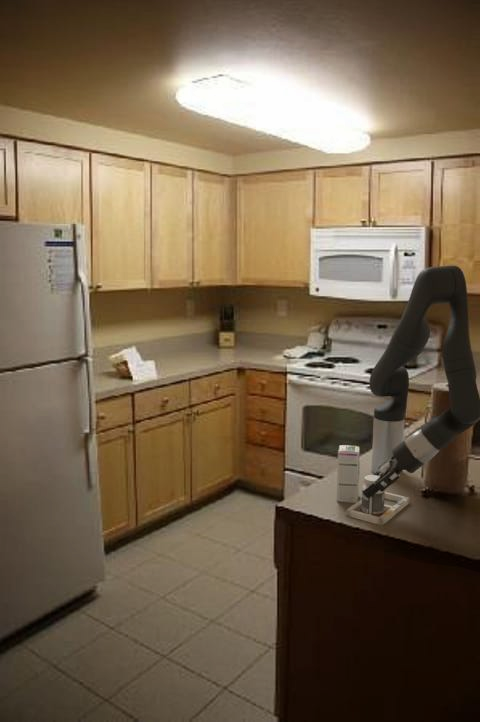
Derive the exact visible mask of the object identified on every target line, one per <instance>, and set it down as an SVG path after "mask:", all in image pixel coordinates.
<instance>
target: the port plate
mask: <svg viewBox="0 0 480 722" xmlns="http://www.w3.org/2000/svg"><path fill="white" fill-rule="evenodd" d="M385 499H386V500H390V501H393V502H397V503H395V504H394V505H393V506H392V505H388V504H385V503H384V514H383V515H382V516H380V517H377V516H373V515H370V514H366V513H362V512H361V509H362V498H361V499H360V500H358V502H357V503H353V504H352V505H351V506H350V507H348V508H347V509H346V510H345V516H347V517H349V518H353V519H354V518H355V519H358V520H361V521H364V522H365V521H366V522H369V523H371V524H376V525H378V526H379V525H380V526H384V524H386V523H387V522H389V520H391V519H392V518H393V517H394V516H396V515H397V514H398V513H399V512H401V511H402V510H403V509H404V508H405V507H406V506H408V505H409V504H410V497H407V496H403V495H400V494H395V493H390V492H387V491H385V495H384V500H385Z"/></svg>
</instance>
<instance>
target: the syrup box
mask: <svg viewBox="0 0 480 722" xmlns="http://www.w3.org/2000/svg"><path fill="white" fill-rule="evenodd" d="M360 448H361V447H360V446H359V445H352V444H351V445H349V444H342V445H341V444H340V445H339V446H338V451H337V478H336V479H337V482H336V483H337V485H336V487H337V488H336V491H337V492H336V501H337V502H342V503H351V504H355V503H357V502H358V501H359V493H360V491H359V490H360Z"/></svg>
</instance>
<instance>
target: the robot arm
mask: <svg viewBox="0 0 480 722" xmlns="http://www.w3.org/2000/svg"><path fill="white" fill-rule="evenodd" d="M466 281H467V280H466V277H465V273H464V271H463V270H462V269H461V268H460V267H459V266H457V265H442V266H431V267H430V266H429V267H425V268H424V269H422V270H421V271H419V273H418V274H417V276H416V279H415V281H414V284H413V286H412V289H411V293H410V295H409V298H408V301H407V304H406V306H405V309H404V311H403V314H402V316H401V317H400V319H399V321H398V324H397V325H396V327H395V330H394V331H393V333H392V336H391V337H390V341H389V343H388V344H387V346H386V349H385V350H384V352H383V354H382V355H381V356H380V358H379V360H378V361H377V363H376V364H375V365H374V367H373V368H372V371H371V373H370V375H369V376H370V378H369V380H368V381H369V382H368V383H369V389H370V390H369V391H370V392H371V393H372V395H374V396H377V397H380V398H381V397H382V398H383V397H384V398H385V397H390V398H389V399H388V400H387V401H386V402H384V403H382V404H379V405H377V406H376V407H375V408H374V410H373V425H372V427H373V428H372V430H373V432H372V448H371V449H372V450H371V453H372V454H371V472H372V473H374V474H373V475H376V476H379V478H378V479H377V480H376V481H374V483H373V484H371V485H370V486H369V487H368V488H366V489H365V490H364V491H363V494H364V495H365V496H366V497H367V498H370V497H372V496H373V495H374V494H375V493H377V492H378V491H379V490H380V491H381V492H382V491H384V490H387V489H388V488H390V486H392V485H393V484H394V483H396V482H397V481H398V480H399V479H400V476H401V475H402V473H403V471H406V472H407V473H408V474H414V473H415V472H416V471H417V470H418V469H420V468H421V467H423V466H424V465H426V463H429V461H430V460H431V459H433V458H434V457H435V456H436V455H437V454H438V453H439V452H440V451H441V450H442V449H444V448H445V447H446V446H447V445H449V444H450V443H451V442H453V440H455V438H457V437H458V436H459V435H461V434H462V433H463V432H465V431H467V430H469V429H470V428H471V427H472V426H474V425H476V424H477V423H478V422H479V421H480V394H479V389H478V384H477V376H478V375H477V370H476V365H475V360H474V355H473V351H472V346H471V339H470V324H469V322H470V321H469V305H468V304H469V303H468V302H469V301H468V290H467V289H468V287H467V282H466ZM447 303H448V306H449V313H450V318H449V319H450V320H449V326H448V328H447V332H446V335H445V337H444V341H443V344H442V349H441V355H442V356H441V357H442V361H443V362H442V363H443V368H444V373H445V376H446V380H447V383H448V384H447V386H448V398H449V404H450V405H449V406H450V407H449V408H447V409H446V410H444V412H442V413H441V414H439V415H437V416H435V417H433V418H432V419H430V420H429V421H428V422H426V424H424V425H423V426H422V427H420V428H419V429H417V430H416V431H414V432H413V433H411V434H410V435H409V436H407V438H404V437H405V417H406V412H407V409H408V408H407V407H408V398H409V397H408V395H409V386H410V377H409V371H408V370H407V368H406V367H405V365H408V364H409V363H410V362H412V361H413V360H415V359H416V358H418V356H420V355H421V353H422V352H423V350H425V349H424V348H425V347H426V345H427V343H428V342H429V340H430V336H431V327H430V324H429V322H428V319H427V317H426V315H427V312H428V310H429V309H430V308H431V306H433V305H436V304H437V305H438V304H439V305H440V304H447ZM382 481H383V484H382V485H381V484H380V483H381V482H382Z"/></svg>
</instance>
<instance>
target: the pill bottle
mask: <svg viewBox="0 0 480 722" xmlns="http://www.w3.org/2000/svg"><path fill="white" fill-rule="evenodd" d="M378 478H379V476H376V475H374V474H368V475H365V476H364V479H363V480H364V481H363V482H364V484H363V485H362V488H361V499H362V509H360V512H362V513H366V514H370V515H373V516H377V517H380V516H382V515H383V514H384V513H385V511H384V504H385V498H384V495H385V492H386V491H385V490H386V489H385V490H384V491H382V492H381V491H380V490H379V491H378V492H377V493H375V494H374V495H373V496H372V497H370V498H367V497H366V496H365V495H364V494H363V491H364V490H365V489H366V488H368V487H369V486H370V485H371V484H373V483H374V481H376V480H377V479H378ZM380 484H381V485H383V484H384V482H383V481H382V482H381V483H380Z"/></svg>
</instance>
